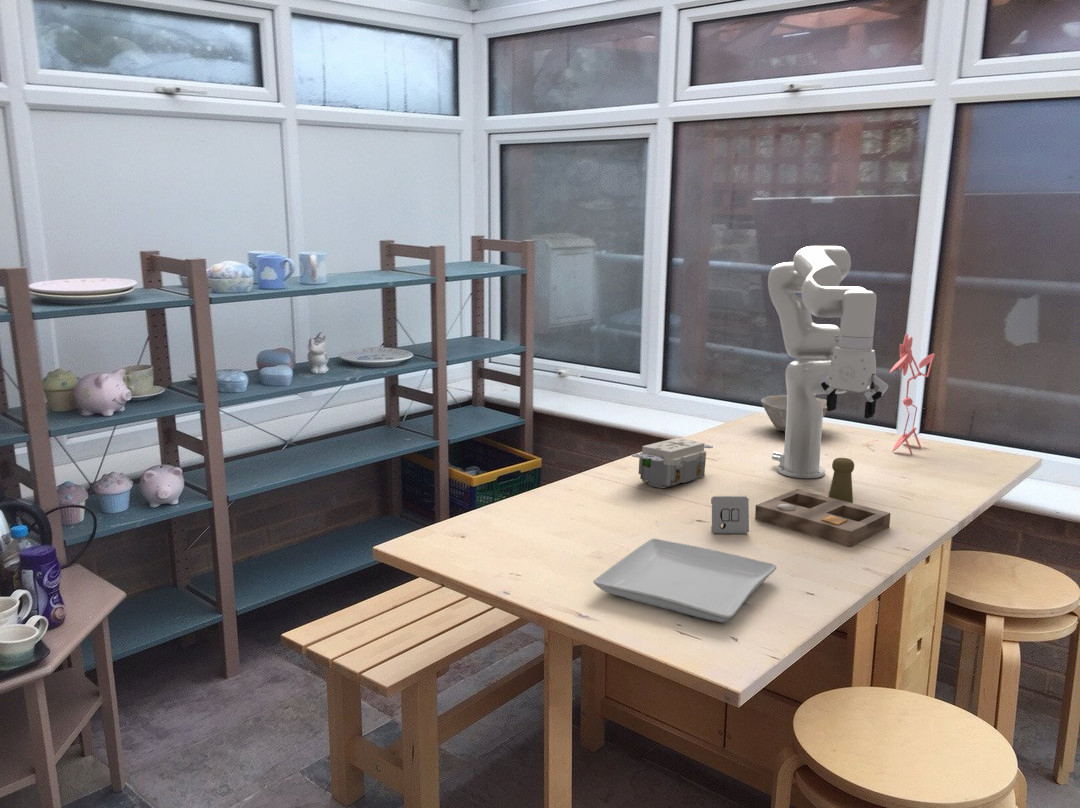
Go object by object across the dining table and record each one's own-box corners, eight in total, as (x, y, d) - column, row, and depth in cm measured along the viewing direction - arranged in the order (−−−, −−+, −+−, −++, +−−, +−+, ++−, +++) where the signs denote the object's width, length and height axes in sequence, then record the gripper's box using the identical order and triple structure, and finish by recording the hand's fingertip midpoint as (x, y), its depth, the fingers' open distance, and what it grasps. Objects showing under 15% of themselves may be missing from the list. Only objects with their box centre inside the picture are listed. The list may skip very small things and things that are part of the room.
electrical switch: (711, 534, 203) (713, 498, 202) (707, 529, 207) (709, 493, 206) (749, 534, 203) (750, 498, 202) (744, 529, 207) (745, 494, 206)
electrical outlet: (623, 485, 235) (625, 447, 234) (680, 469, 257) (682, 434, 256) (661, 494, 228) (664, 455, 227) (716, 476, 250) (719, 441, 248)
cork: (854, 506, 222) (858, 462, 220) (828, 504, 223) (832, 461, 221) (851, 498, 228) (854, 456, 226) (826, 496, 229) (829, 454, 227)
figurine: (931, 443, 282) (942, 331, 274) (906, 460, 262) (918, 341, 255) (881, 435, 291) (891, 327, 284) (853, 451, 271) (863, 336, 264)
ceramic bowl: (762, 438, 286) (763, 408, 284) (757, 422, 308) (759, 393, 306) (835, 442, 282) (837, 411, 280) (824, 425, 304) (827, 395, 302)
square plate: (590, 599, 170) (590, 579, 169) (651, 553, 193) (652, 535, 192) (729, 634, 156) (730, 614, 155) (777, 580, 179) (778, 562, 178)
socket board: (754, 519, 212) (755, 503, 211) (796, 502, 224) (797, 487, 224) (850, 547, 195) (851, 530, 195) (889, 527, 207) (890, 511, 207)
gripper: (814, 340, 217) (809, 410, 221) (883, 349, 205) (876, 422, 208) (830, 337, 222) (825, 405, 226) (898, 345, 210) (891, 417, 213)
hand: (849, 413), depth 217 cm, fingers open, 9 cm apart
